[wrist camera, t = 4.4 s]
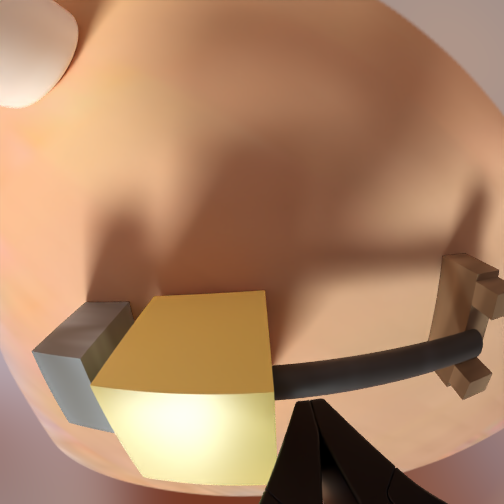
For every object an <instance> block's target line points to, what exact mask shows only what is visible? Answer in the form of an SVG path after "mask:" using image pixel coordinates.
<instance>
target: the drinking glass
mask: <svg viewBox="0 0 504 504" xmlns="http://www.w3.org/2000/svg"><path fill="white" fill-rule="evenodd" d="M77 42H78V25H77V22H76V19H75V18H74V16H73V15H72V14H71V13H70V12H69V11H67V10H66V9H65V8H63V7H62V6H61V5H59V4H58V3H56V2H55V1H54V0H0V106H1V107H8V108H24V107H27V106H30V105H32V104H34V103H36V102H37V101H39V100H40V99H42V98H43V97H44V96H45V95H46V94H47V93H48V92H50V91H51V90H52V88H53V87H54V86H55V85H56V84H57V83H58V81H59V80H60V79H61V77H62V76H63V74H64V73H65V71H66V70H67V68H68V66H69V64H70V62H71V60H72V58H73V55H74V53H75V50H76V46H77Z"/></svg>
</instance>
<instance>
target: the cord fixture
mask: <svg viewBox="0 0 504 504" xmlns="http://www.w3.org/2000/svg"><path fill="white" fill-rule="evenodd" d="M498 275H499V270H498V269H496V268H494V267H492V266H490V265H488V264H486V263H484V262H482V261H480V260H478V259H476V258H474V257H472V256H470V255H468V254H466V253H462V254H453V255H444V256H443V258H442V267H441V275H440V282H439V289H438V295H437V301H436V307H435V312H434V317H433V322H432V327H431V332H430V336H429V340H428V341H427V342H423V343H418V344H414V345H410V346H405V347H400V348H396V349H391V350H386V351H381V352H375V353H370V354H364V355H358V356H352V357H345V358H338V359H331V360H323V361H315V362H306V363H297V364H286V365H274V366H272V374H273V385H274V400H285V399H296V398H305V397H313V396H321V395H328V394H335V393H341V392H347V391H353V390H358V389H363V388H368V387H373V386H378V385H383V384H387V383H391V382H396V381H400V380H404V379H408V378H411V377H415V376H419V375H422V374H426V373H429V372H433V371H435V372H436V374H437V375H438V376H439V377H440V379H441V380H442V381H443V383H444V384H445V385H446V386H447V387H448V386H452V387H453V388H454V390H455V391H456V392H457V393H458V395H459V396H460V397H461V399H462V400H464V399H466V398H469V397H471V396H473V395H475V394H478V393H480V392H482V391H484V390H485V389H486V387H487V385H488V382H489V380H490V378H491V375H492V372H491V371H490V370H489V369H488V368H487V367H486V366H485V365H484V364H483V363H482V362H481V361H480V360H479V359H478V358H477V356H478V355H479V354H480V353H481V351H482V347H483V337H484V334H485V330H486V327H487V323H488V320H489V318H490V319H491V320H494V319H497V318H500V317H502V316H504V280H503V279H501V278H499V277H498ZM133 324H134V319H133V316H132V312H131V308H130V304H129V302H85V303H84V304H83V305H82V306H81V307H79V308H78V309H77V310H76V311H75V312H74V313H73V314H72V315H70V316H69V317H68V318H67V319H66V320H65V321H64V322H63V323H61V324H60V325H59V326H58V327H57V328H56V329H55V330H54V331H53V332H52V333H51V334H49V335H48V336H47V337H46V338H45V339H44V340H43V341H42V342H41V343H40V344H39V345H38V346H37V347H36V348H35V349H34V350H33V351H32V353H33V355H34V358H35V360H36V362H37V364H38V366H39V368H40V371H41V373H42V375H43V377H44V379H45V381H46V383H47V385H48V386H49V388H50V390H51V392H52V394H53V396H54V398H55V399H56V401H57V403H58V405H59V406H60V408H61V410H62V412H63V413H64V415H65V417H66V418H67V420H68V421H69V423H73V424H76V425H80V426H84V427H88V428H93V429H97V430H102V431H107V432H112V433H115V432H114V431H113V429H112V427H111V425H110V424H109V422H108V420H107V418H106V416H105V414H104V412H103V411H102V409H101V407H100V405H99V403H98V401H97V399H96V397H95V395H94V393H93V391H92V389H91V386H90V384H91V383H92V381H93V380H94V379H95V377H96V376H97V374H98V373H99V371H100V370H101V368H102V367H103V365H104V364H105V363H106V361H107V360H108V358H109V357H110V355H111V354H112V353H113V351H114V350H115V348H116V347H117V346H118V344H119V343H120V341H121V340H122V339H123V337H124V336H125V335H126V333H127V332H128V330H129V329H130V328H131V326H132V325H133Z"/></svg>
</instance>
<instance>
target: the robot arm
mask: <svg viewBox="0 0 504 504" xmlns="http://www.w3.org/2000/svg"><path fill="white" fill-rule="evenodd" d="M322 502H323V503H324V504H447V503H446V502H444V501H443V500H441V499H439V498H437V497H436V496H434V495H432V494H431V493H429V492H428V491H426V490H425V489H423V488H421V487H420V486H419V485H417V484H416V483H415V482H413V481H412V480H411V479H410V478H408V477H407V476H406V475H405V474H404V473H402V472H401V471H400V470H399V469H398V468H395V466H394V465H393V464H392V463H391V462H390V461H389V460H388V459H387V458H385V457H384V456H383V455H382V454H381V453H380V452H379V451H378V450H377V449H376V448H374V447H373V446H372V445H371V444H370V443H369V442H368V441H367V440H366V439H365V438H364V437H363V436H362V435H361V434H359V433H358V432H357V431H356V430H355V429H354V428H353V427H352V426H351V425H350V424H349V423H348V422H347V421H346V420H345V419H344V418H343V417H342V416H341V415H340V414H339V413H338V412H337V411H335V410H334V409H333V408H332V407H331V406H330V405H329V404H328V403H327V402H326V401H325V400H324V399H315V400H310V401H309V400H307V401H298V402H296V404H295V407H294V410H293V413H292V416H291V420H290V423H289V426H288V429H287V432H286V434H285V437H284V440H283V443H282V446H281V449H280V452H279V454H278V457H277V460H276V463H275V465H274V468H273V470H272V473H271V476H270V478H269V481H268V483H267V486H266V488H265V491H264V493H263V495H262V498H261V500H260V502H259V504H323V503H322Z"/></svg>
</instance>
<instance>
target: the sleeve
mask: <svg viewBox="0 0 504 504" xmlns="http://www.w3.org/2000/svg"><path fill="white" fill-rule="evenodd" d="M90 386H91V389H92V391H93V393H94V395H95V397H96V399H97V401H98V403H99V405H100V407H101V409H102V411H103V412H104V414H105V416H106V418H107V420H108V422H109V424H110V425H111V427H112V429H113V431H114V432H115V434H116V436H117V437H118V439H119V441H120V442H121V444H122V446H123V447H124V449H125V450H126V452H127V454H128V455H129V457H130V458H131V460H132V461H133V463H134V464H135V466H136V467H137V469H138V470H139V471H140V473H141V474H142V476H143V477H145V478H151V479H157V480H164V481H172V482H180V483H191V484H204V485H230V486H246V485H267V483H268V481H269V478H270V476H271V473H272V470H273V468H274V465H275V463H276V460H277V447H276V423H275V401H274V385H273V374H272V362H271V351H270V340H269V329H268V318H267V307H266V296H265V290H261V291H246V292H231V293H213V294H194V295H171V296H154V297H153V298H152V300H151V301H150V302H149V304H148V305H147V306H146V307H145V309H144V310H143V311H142V313H141V314H140V316H139V317H138V318H137V320H136V321H135V322H134V324H133V325H132V326H131V328H130V329H129V330H128V332H127V333H126V335H125V336H124V337H123V339H122V340H121V341H120V343H119V344H118V346H117V347H116V348H115V350H114V351H113V353H112V354H111V355H110V357H109V358H108V360H107V361H106V363H105V364H104V365H103V367H102V368H101V370H100V371H99V373H98V374H97V376H96V377H95V379H94V380H93V381H92V383H91V384H90Z"/></svg>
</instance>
